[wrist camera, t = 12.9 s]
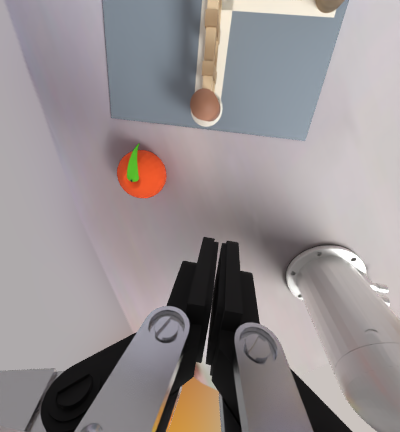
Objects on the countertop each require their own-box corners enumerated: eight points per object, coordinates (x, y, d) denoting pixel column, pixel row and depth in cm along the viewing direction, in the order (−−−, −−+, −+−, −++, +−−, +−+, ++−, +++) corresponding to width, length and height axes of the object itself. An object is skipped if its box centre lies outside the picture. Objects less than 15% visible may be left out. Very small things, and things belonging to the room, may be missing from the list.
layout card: (378, -98, 18) (380, -102, 18) (304, 140, 27) (305, 140, 27) (96, -104, 21) (94, -107, 21) (112, 117, 30) (111, 117, 29)
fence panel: (204, 0, 22) (195, -42, 17) (231, 0, 22) (231, -42, 17) (197, 120, 28) (189, 119, 22) (219, 122, 27) (216, 121, 22)
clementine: (129, 137, 31) (103, 140, 24) (173, 143, 30) (158, 148, 24) (131, 187, 34) (108, 201, 28) (170, 193, 33) (156, 209, 27)
